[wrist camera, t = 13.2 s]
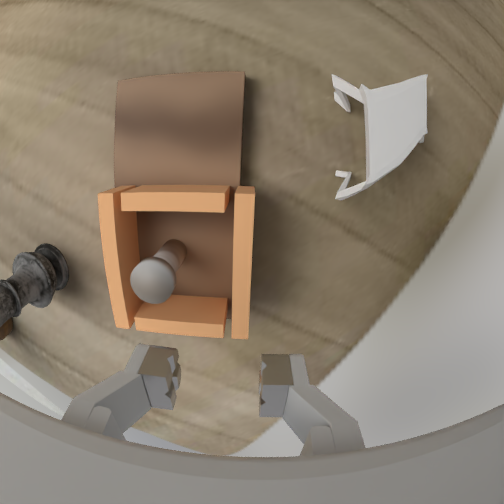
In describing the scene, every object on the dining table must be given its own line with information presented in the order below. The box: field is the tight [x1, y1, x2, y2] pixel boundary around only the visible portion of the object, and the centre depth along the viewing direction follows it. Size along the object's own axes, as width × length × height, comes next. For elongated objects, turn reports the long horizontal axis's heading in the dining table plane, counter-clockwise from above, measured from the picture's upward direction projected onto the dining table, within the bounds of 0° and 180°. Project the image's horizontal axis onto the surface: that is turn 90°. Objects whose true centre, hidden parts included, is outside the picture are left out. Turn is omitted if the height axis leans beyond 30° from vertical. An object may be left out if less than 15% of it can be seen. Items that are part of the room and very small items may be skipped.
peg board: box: [114, 71, 245, 319], centre depth 19 cm, size 20×10×8 cm, turn 177°
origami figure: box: [332, 74, 428, 200], centre depth 18 cm, size 12×8×5 cm
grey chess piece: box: [0, 244, 69, 327], centre depth 19 cm, size 6×6×12 cm
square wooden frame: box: [98, 185, 255, 339], centre depth 20 cm, size 10×10×4 cm
